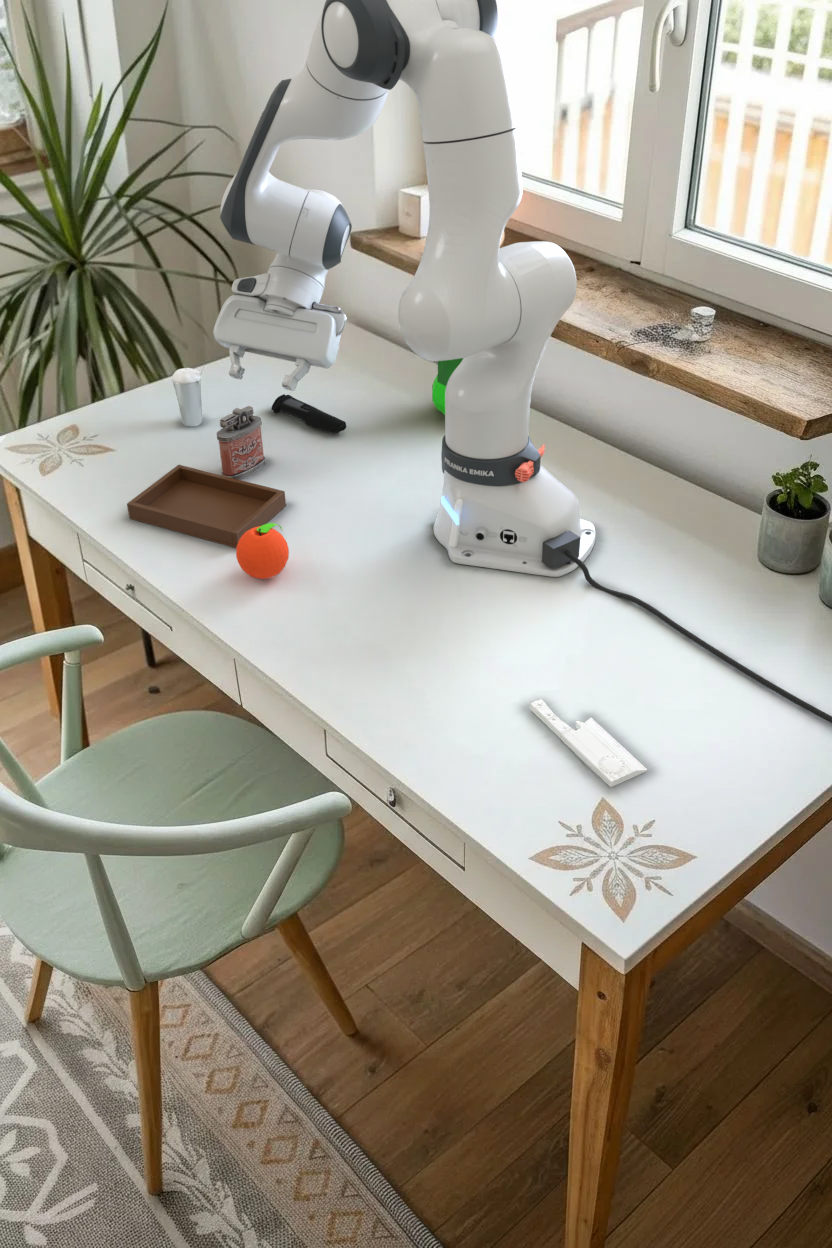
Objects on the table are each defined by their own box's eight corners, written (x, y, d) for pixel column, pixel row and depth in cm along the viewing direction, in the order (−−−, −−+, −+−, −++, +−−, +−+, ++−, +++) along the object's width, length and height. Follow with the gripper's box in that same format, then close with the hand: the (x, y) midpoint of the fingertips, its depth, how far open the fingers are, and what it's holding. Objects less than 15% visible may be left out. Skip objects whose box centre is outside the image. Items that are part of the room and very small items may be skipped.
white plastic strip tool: (565, 694, 141) (566, 687, 140) (647, 772, 131) (648, 764, 130) (529, 708, 139) (530, 701, 138) (609, 788, 129) (610, 780, 128)
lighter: (255, 457, 188) (248, 398, 182) (270, 463, 186) (264, 404, 180) (217, 477, 183) (209, 417, 177) (232, 484, 181) (225, 424, 176)
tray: (286, 506, 176) (284, 491, 175) (238, 548, 167) (236, 533, 166) (180, 478, 183) (178, 464, 182) (129, 518, 174) (126, 503, 173)
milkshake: (209, 428, 196) (201, 371, 190) (176, 429, 196) (167, 371, 190) (213, 415, 200) (206, 359, 194) (181, 416, 200) (173, 359, 194)
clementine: (264, 551, 167) (259, 506, 162) (305, 565, 164) (301, 520, 160) (228, 579, 161) (222, 534, 157) (270, 594, 158) (265, 548, 154)
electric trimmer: (335, 443, 192) (334, 425, 190) (269, 412, 200) (268, 395, 198) (352, 435, 194) (351, 417, 192) (286, 405, 202) (285, 387, 200)
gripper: (357, 317, 183) (329, 403, 182) (243, 296, 191) (215, 378, 189) (341, 299, 177) (312, 388, 176) (224, 278, 185) (195, 363, 184)
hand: (261, 383), depth 183 cm, fingers open, 8 cm apart
